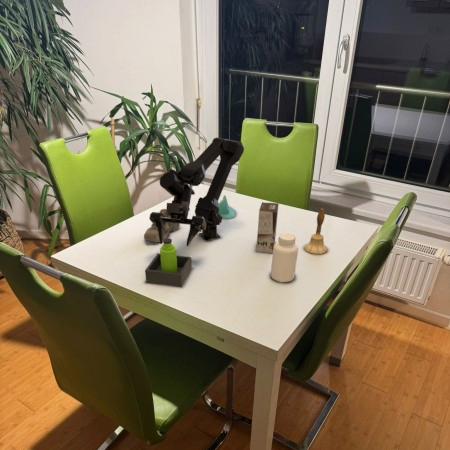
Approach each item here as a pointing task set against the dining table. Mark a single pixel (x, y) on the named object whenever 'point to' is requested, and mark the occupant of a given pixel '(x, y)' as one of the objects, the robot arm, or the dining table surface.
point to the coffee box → (267, 227)
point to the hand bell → (317, 237)
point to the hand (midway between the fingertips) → (173, 244)
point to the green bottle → (168, 256)
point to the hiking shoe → (153, 231)
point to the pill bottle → (284, 258)
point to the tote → (168, 278)
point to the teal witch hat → (225, 209)
